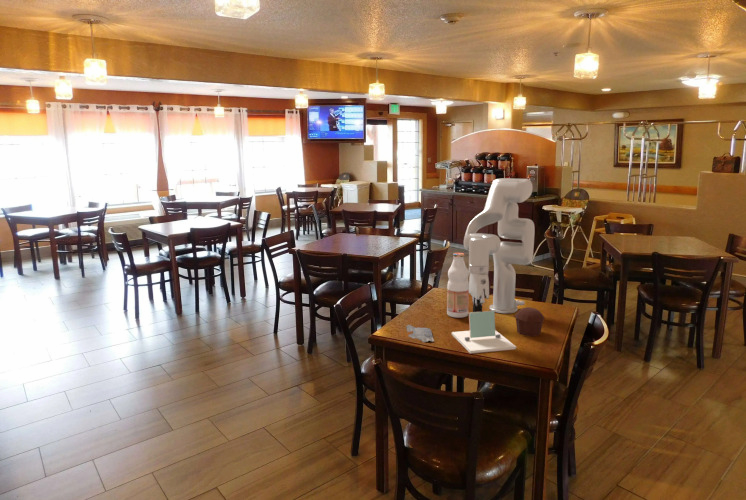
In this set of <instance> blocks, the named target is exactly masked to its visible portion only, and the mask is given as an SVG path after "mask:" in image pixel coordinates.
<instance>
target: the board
mask: <svg viewBox="0 0 746 500" xmlns="http://www.w3.org/2000/svg"><path fill="white" fill-rule="evenodd" d="M451 336H452V337H453V338H454V339H456V341H457V342H458V343H460V345H462V347H463V348H465V350H466V351H467V352H468V353H469V354H479V353H488V352H489V353H490V352H500V351H510V350H517V346H516V345H515V344H513V343H512V342H511V341H510V340H509V339H508V338H506V337H505V336H503V334H501V333H500V332H498V331H497V330H496V329H495V336H487V337H476V338H470V330H463V331H462V330H461V331H452V332H451Z"/></svg>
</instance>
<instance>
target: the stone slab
mask: <svg viewBox="0 0 746 500" xmlns="http://www.w3.org/2000/svg"><path fill="white" fill-rule="evenodd" d="M406 331H407V334H408V333H409V332H410V334H408V336H407V337H409V338H411V339H413V340H415V339H417V340H419V341H421V342H422V343H426V342H429V341H430V342H432V343H434V342H435V339H434V336H433V333H432V330H431V328H428V327H415V326H412V325H411V324H408V325H406ZM411 332H412V333H411Z"/></svg>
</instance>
